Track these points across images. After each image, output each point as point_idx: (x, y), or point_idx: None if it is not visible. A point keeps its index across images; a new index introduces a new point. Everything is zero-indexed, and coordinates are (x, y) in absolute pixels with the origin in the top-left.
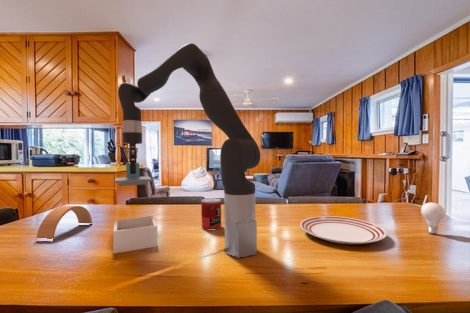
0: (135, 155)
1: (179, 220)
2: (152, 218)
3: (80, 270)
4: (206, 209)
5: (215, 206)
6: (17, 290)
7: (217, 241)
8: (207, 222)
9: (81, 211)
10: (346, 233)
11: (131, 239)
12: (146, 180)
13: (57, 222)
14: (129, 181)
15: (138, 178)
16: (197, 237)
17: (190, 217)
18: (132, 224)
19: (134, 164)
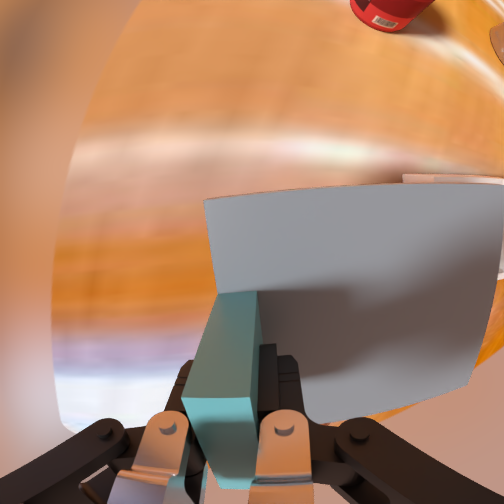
0: (466, 488)
1: (255, 70)
2: (463, 181)
3: (495, 298)
4: (429, 4)
5: None
6: (496, 345)
7: (472, 52)
8: (411, 20)
9: None
10: None
11: None
12: (499, 221)
13: (324, 424)
14: (484, 319)
15: (413, 285)
16: (447, 72)
17: (224, 32)
18: None
19: (309, 422)
